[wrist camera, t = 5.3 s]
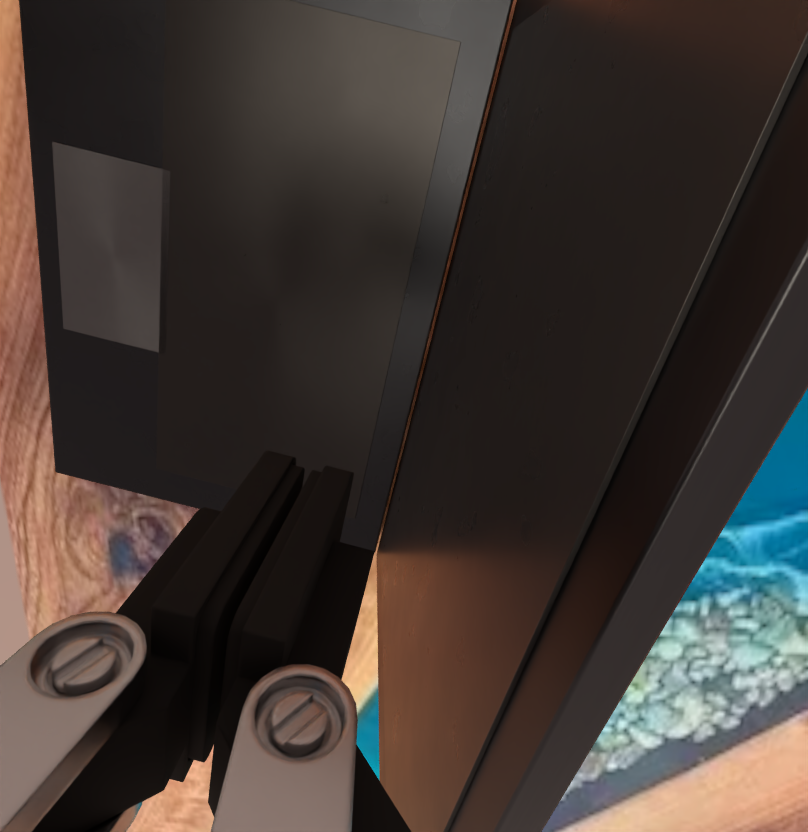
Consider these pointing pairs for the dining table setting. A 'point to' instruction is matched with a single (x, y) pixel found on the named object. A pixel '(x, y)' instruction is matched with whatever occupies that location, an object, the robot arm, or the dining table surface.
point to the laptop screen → (589, 387)
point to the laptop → (247, 229)
